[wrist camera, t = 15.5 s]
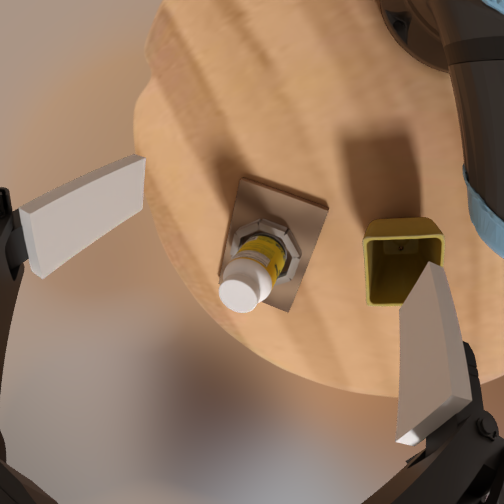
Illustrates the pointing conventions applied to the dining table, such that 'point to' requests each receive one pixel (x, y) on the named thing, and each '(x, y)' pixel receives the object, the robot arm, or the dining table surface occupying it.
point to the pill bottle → (252, 272)
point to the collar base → (276, 233)
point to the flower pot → (399, 257)
